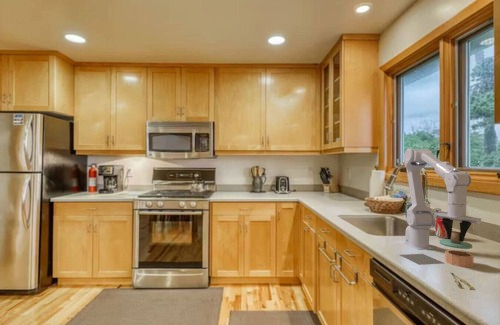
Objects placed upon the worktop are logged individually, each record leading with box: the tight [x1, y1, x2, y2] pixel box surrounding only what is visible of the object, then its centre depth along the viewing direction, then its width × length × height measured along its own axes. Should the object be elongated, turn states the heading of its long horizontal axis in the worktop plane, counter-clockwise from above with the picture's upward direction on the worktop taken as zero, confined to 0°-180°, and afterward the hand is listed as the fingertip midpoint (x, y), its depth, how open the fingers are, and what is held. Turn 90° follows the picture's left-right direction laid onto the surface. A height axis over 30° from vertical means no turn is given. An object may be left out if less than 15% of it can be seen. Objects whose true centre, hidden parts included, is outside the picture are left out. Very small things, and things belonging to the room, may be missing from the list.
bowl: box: [444, 249, 475, 268], centre depth 111 cm, size 8×8×4 cm
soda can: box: [435, 212, 448, 239], centre depth 151 cm, size 7×7×12 cm
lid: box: [439, 230, 473, 250], centre depth 111 cm, size 10×10×5 cm
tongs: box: [450, 272, 475, 291], centre depth 95 cm, size 4×13×2 cm, turn 169°
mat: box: [399, 253, 444, 266], centre depth 115 cm, size 11×11×1 cm
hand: (455, 240), depth 111 cm, fingers closed on lid, 3 cm apart
